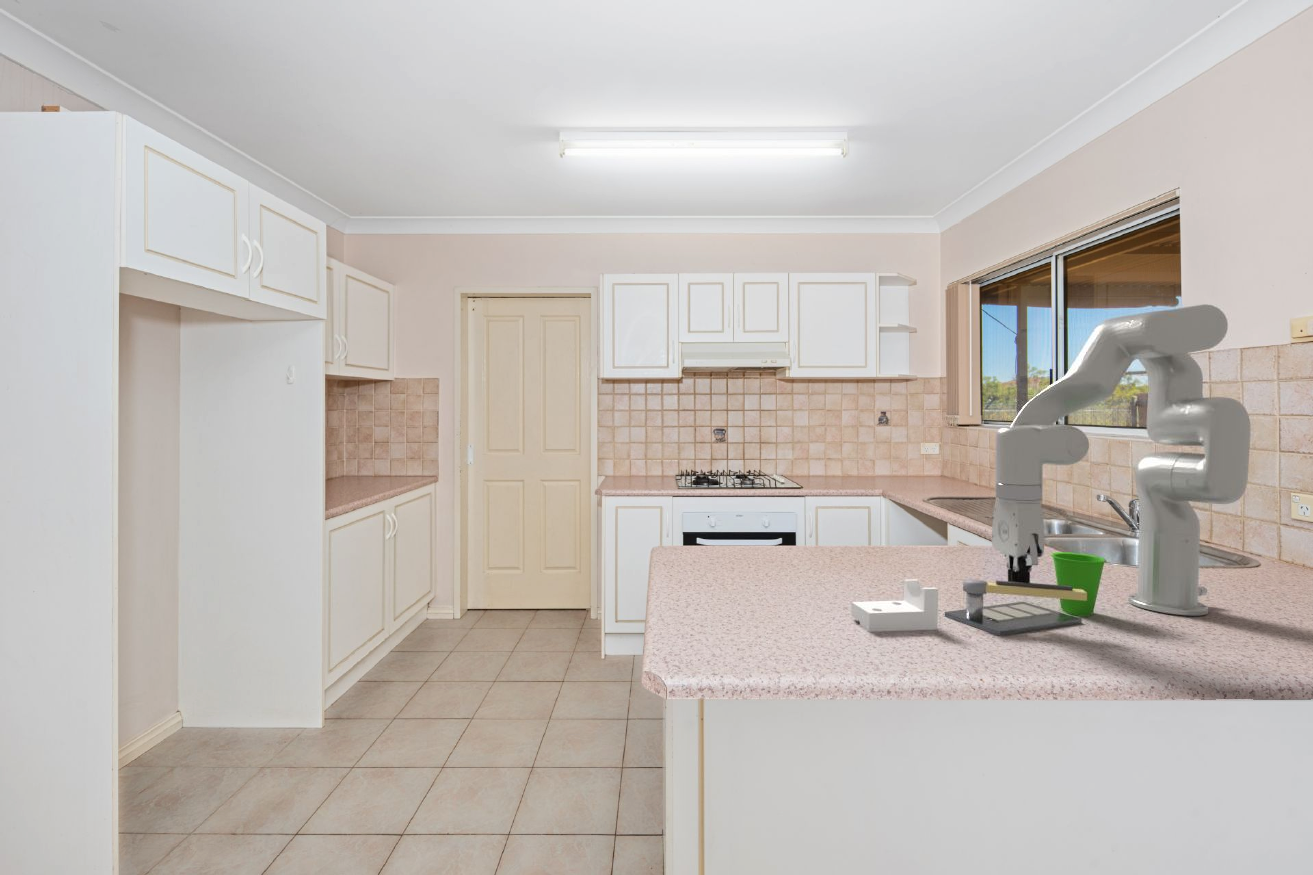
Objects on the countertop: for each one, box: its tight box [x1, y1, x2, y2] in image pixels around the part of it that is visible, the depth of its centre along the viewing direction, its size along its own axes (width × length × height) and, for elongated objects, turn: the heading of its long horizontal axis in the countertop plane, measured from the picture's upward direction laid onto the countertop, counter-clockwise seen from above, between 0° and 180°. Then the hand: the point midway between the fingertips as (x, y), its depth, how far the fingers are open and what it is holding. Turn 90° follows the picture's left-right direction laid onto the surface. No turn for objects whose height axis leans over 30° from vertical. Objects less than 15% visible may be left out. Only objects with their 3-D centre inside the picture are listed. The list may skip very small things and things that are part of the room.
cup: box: [1050, 551, 1107, 617], centre depth 123 cm, size 9×9×11 cm
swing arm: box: [962, 578, 1087, 601], centre depth 113 cm, size 20×4×2 cm, turn 72°
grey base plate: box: [944, 592, 1083, 637], centre depth 118 cm, size 21×12×6 cm, turn 111°
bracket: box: [850, 578, 939, 633], centre depth 114 cm, size 13×7×8 cm, turn 97°
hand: (1018, 591), depth 116 cm, fingers closed
